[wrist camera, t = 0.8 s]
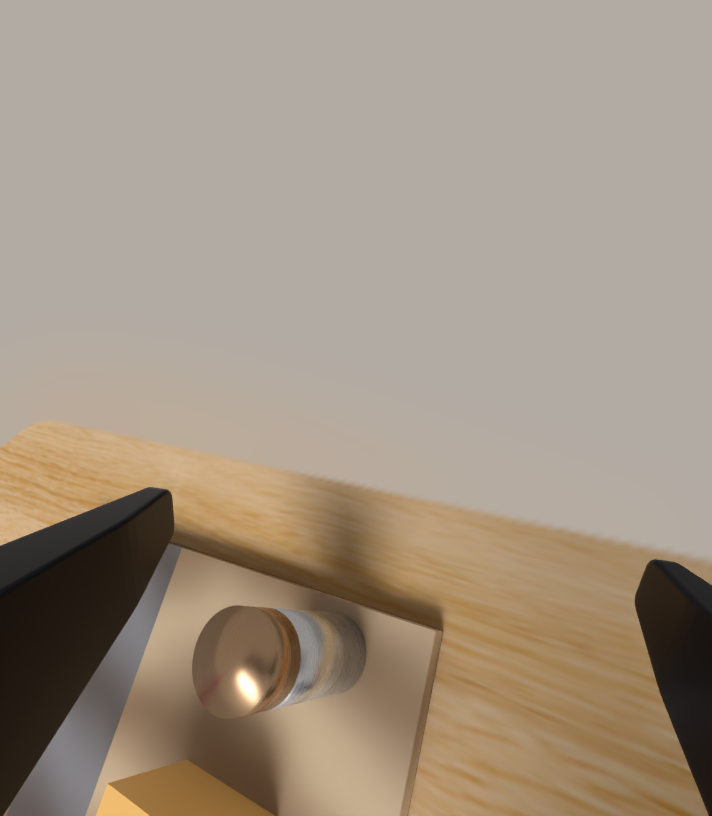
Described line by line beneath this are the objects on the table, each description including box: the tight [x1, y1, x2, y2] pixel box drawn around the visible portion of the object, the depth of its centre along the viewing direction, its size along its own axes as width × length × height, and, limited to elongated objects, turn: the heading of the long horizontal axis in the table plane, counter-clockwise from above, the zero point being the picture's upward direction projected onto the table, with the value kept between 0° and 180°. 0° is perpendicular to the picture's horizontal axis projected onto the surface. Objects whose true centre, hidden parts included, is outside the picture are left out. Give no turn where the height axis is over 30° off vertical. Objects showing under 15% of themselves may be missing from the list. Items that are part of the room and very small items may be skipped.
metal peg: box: [192, 605, 366, 719], centre depth 17 cm, size 3×3×6 cm
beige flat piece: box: [4, 542, 443, 816], centre depth 22 cm, size 16×22×1 cm
